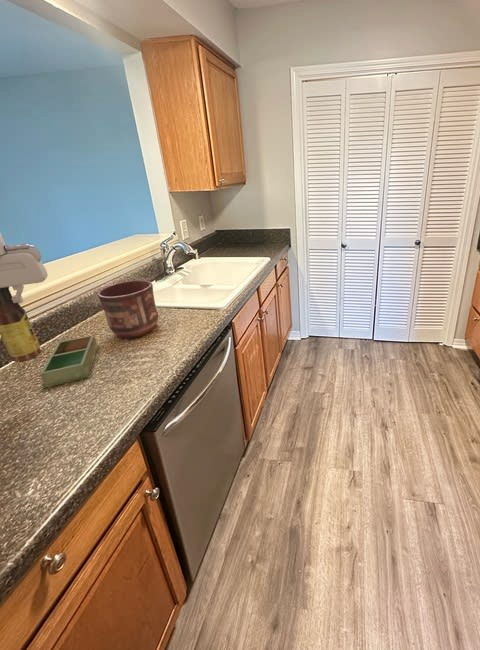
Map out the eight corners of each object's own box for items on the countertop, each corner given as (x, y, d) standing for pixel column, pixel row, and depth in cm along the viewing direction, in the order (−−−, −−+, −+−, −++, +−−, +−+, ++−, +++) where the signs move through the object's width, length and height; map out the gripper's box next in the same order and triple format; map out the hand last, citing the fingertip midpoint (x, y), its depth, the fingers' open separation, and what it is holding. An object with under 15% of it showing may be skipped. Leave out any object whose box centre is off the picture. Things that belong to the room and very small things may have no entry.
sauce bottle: (47, 354, 84) (19, 282, 77) (18, 366, 79) (-15, 290, 72) (35, 348, 88) (7, 278, 80) (7, 359, 83) (-26, 286, 75)
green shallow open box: (46, 387, 93) (39, 374, 91) (63, 354, 111) (58, 341, 109) (88, 377, 97) (83, 364, 95) (98, 346, 114) (94, 334, 112)
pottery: (159, 338, 118) (148, 292, 111) (106, 347, 114) (91, 300, 106) (164, 318, 133) (154, 277, 126) (117, 325, 129) (105, 283, 122)
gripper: (39, 240, 79) (58, 293, 84) (-71, 251, 72) (-42, 308, 77) (31, 245, 73) (52, 301, 79) (-89, 257, 66) (-57, 318, 72)
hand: (4, 305), depth 78 cm, fingers closed on sauce bottle, 4 cm apart
